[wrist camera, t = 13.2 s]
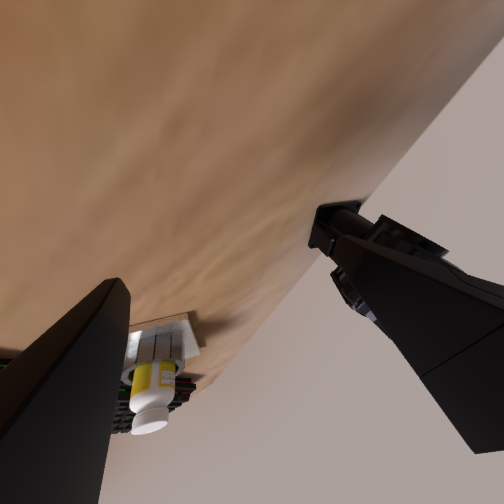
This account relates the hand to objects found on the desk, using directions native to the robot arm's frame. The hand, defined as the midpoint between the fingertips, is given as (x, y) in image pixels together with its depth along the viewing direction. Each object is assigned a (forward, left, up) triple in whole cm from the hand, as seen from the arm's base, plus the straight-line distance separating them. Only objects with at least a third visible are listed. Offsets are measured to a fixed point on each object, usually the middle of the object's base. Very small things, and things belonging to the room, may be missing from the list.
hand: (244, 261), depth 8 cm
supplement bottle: (+12, +26, -12) cm, 31 cm away
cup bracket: (+12, +26, -13) cm, 31 cm away
